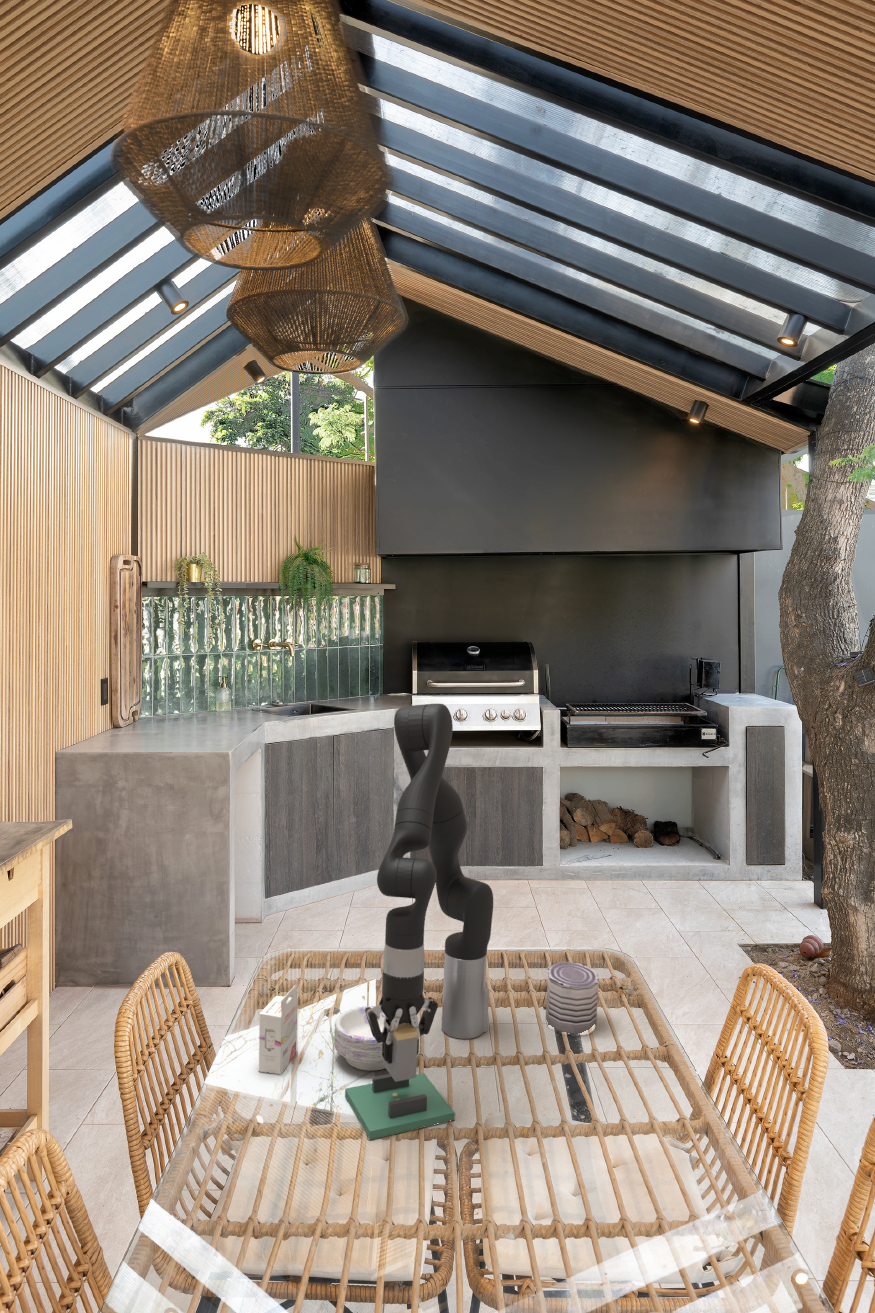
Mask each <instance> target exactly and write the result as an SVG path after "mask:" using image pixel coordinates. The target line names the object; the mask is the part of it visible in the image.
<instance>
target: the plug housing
mask: <svg viewBox="0 0 875 1313" xmlns="http://www.w3.org/2000/svg"><path fill="white" fill-rule="evenodd" d="M417 1042H418V1031H417V1030H416V1029H415V1028H412V1027H411V1025H410V1024H409V1023H402V1024H400V1025H398V1027H397V1031H395V1032H394V1033H393V1040H392V1044H393V1050H392V1063H390V1064H388V1063H387V1062H386V1061H385V1060H384V1066H385V1067H386V1068H385V1069H386V1070H387V1072H388V1074H390V1075H391V1076H392V1078H393V1079H394V1081H395V1082H397V1081H402V1080H407V1079H412V1078H416V1074H417V1067H418V1066H417V1063H418V1061H417V1060H418V1055H417Z"/></svg>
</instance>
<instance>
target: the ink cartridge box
mask: <svg viewBox="0 0 875 1313" xmlns="http://www.w3.org/2000/svg"><path fill="white" fill-rule="evenodd" d="M298 1000H299V998H298V986H297V984H295V985H293V987H291V989H290V990H289V991H288V992H287V993H286V994H285V995H284V996H283V995H282V996H281V995H275V996H274V997H273V998H272V1000H271V1001H270V1002H269V1003H268V1004H267V1005H266V1006H265V1007H264V1008H263V1010H261V1011H260V1012H259V1027H258V1028H259V1029H258V1030H259V1031H258V1032H259V1033H258V1034H259V1035H258V1036H259V1038H258V1040H259V1041H258V1042H259V1043H258V1045H259V1046H258V1047H259V1048H258V1051H259V1052H258V1072H259V1071H260V1073H267V1072H269V1073H268V1074H273V1073H276V1075H282V1074H283V1072H284V1071H285V1070H286V1068H287V1067H288V1065H289V1064H290V1063H291V1061H292V1059H293V1058H294V1057H295V1056H296V1054H297V1038H298V1036H297V1035H298V1008H299V1006H298V1002H299V1001H298ZM289 1062H290V1063H289ZM286 1066H287V1067H286ZM284 1069H285V1070H284ZM277 1073H278V1074H277ZM281 1073H282V1074H281Z"/></svg>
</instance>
